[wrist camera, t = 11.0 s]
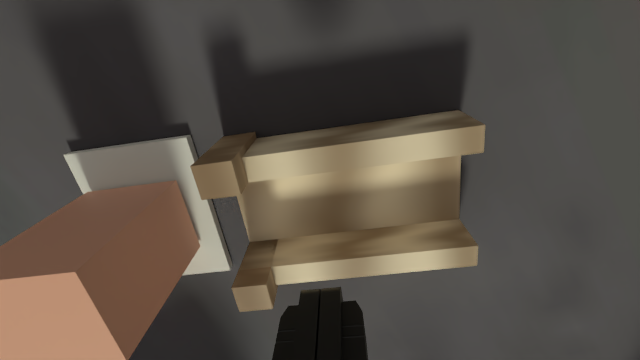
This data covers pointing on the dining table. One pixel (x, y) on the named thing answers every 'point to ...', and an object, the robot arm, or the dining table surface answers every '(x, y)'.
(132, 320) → the block
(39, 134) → the dining table surface
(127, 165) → the felt mat
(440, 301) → the dining table surface
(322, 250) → the chute
